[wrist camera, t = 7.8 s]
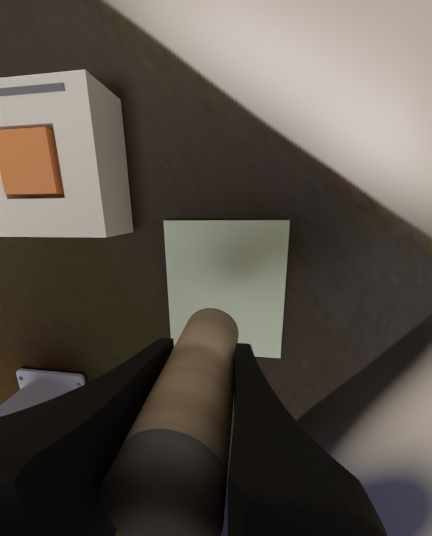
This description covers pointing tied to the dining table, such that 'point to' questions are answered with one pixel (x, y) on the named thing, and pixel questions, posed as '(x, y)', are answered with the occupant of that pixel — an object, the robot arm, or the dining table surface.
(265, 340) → the sage board
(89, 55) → the dining table surface
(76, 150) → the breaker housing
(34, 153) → the button
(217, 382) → the tan lidded jar
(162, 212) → the dining table surface
